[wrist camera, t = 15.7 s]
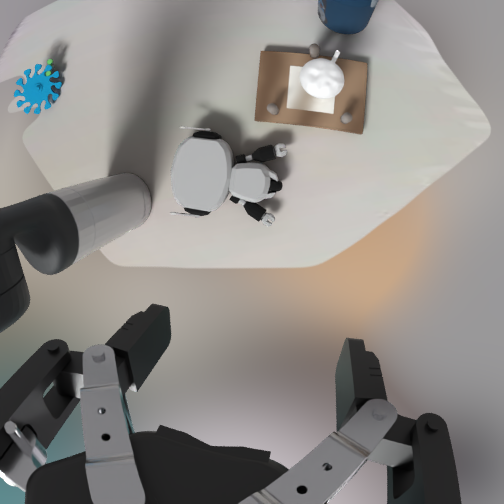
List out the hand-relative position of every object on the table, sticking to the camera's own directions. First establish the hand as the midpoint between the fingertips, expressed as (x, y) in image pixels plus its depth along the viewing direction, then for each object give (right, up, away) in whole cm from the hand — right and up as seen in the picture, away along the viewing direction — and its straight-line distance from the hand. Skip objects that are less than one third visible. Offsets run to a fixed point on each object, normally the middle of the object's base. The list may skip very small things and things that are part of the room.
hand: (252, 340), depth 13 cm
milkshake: (+9, +24, +20) cm, 33 cm away
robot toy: (-3, +15, +28) cm, 32 cm away
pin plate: (+8, +25, +22) cm, 34 cm away
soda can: (+12, +36, +17) cm, 42 cm away
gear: (-38, +35, +28) cm, 59 cm away
